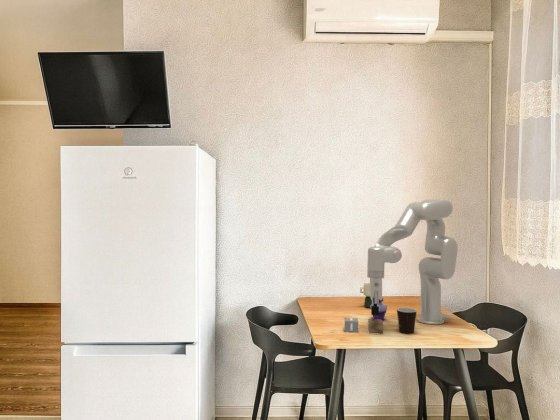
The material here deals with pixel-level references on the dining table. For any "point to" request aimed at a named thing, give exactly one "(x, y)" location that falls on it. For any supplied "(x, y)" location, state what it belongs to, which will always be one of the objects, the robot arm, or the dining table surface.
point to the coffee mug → (406, 320)
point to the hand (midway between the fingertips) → (374, 314)
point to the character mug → (366, 294)
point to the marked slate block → (351, 324)
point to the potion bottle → (380, 311)
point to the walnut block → (375, 326)
